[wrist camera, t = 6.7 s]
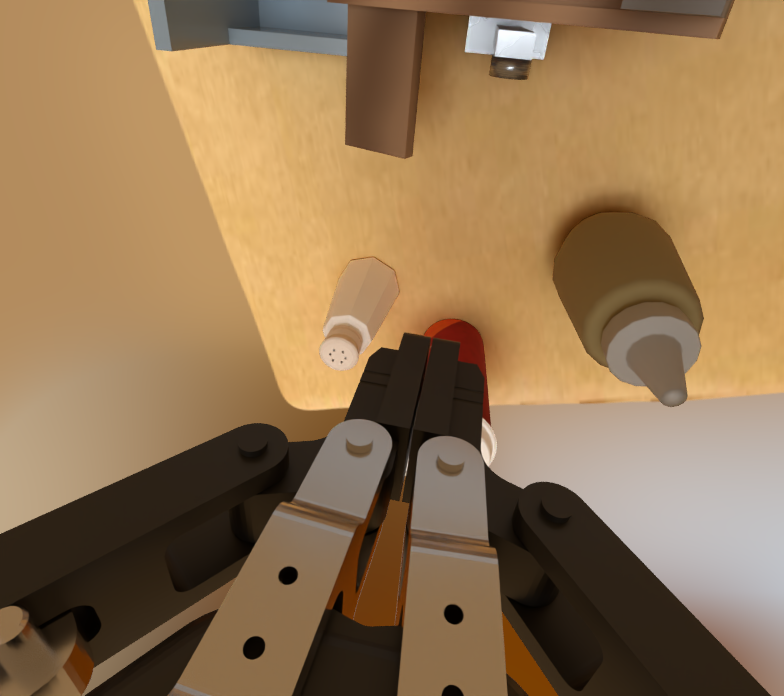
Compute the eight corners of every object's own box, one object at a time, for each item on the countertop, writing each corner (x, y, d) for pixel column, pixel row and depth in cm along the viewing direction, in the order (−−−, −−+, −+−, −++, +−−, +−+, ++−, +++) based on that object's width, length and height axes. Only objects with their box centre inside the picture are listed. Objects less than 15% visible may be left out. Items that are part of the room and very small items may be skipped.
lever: (809, -193, 15) (821, -249, 12) (653, 210, 22) (636, 237, 19) (357, -160, 22) (294, -191, 19) (350, 139, 29) (303, 151, 26)
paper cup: (410, 305, 43) (382, 409, 32) (499, 310, 42) (503, 421, 31) (410, 375, 48) (386, 489, 36) (491, 382, 47) (491, 502, 35)
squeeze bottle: (685, 231, 36) (818, 381, 21) (606, 311, 41) (673, 479, 26) (596, 174, 35) (674, 291, 20) (526, 262, 39) (547, 411, 25)
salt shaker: (405, 263, 41) (382, 333, 32) (394, 317, 44) (370, 394, 35) (342, 249, 41) (302, 314, 32) (336, 303, 45) (297, 377, 36)
